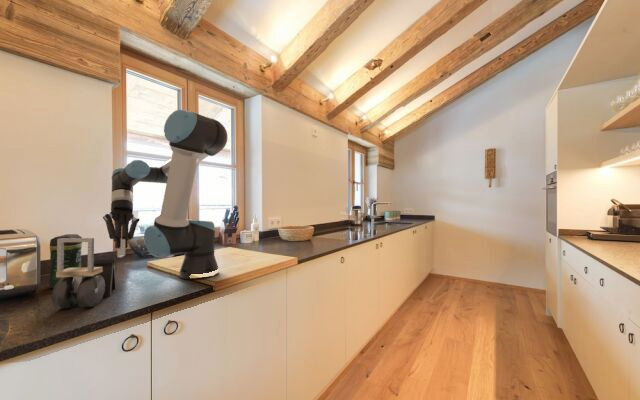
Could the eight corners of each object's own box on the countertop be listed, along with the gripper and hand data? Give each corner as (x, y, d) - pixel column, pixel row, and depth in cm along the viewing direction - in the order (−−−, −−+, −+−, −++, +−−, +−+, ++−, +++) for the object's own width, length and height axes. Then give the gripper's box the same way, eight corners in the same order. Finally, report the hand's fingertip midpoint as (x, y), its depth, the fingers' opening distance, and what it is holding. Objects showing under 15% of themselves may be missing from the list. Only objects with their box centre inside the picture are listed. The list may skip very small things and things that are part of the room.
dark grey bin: (109, 297, 89) (110, 260, 89) (86, 299, 86) (86, 261, 86) (116, 288, 97) (117, 254, 97) (95, 290, 94) (95, 256, 94)
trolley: (105, 300, 86) (105, 235, 86) (86, 311, 77) (87, 239, 77) (73, 301, 84) (74, 235, 84) (51, 313, 76) (51, 239, 76)
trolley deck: (102, 271, 84) (102, 266, 84) (92, 276, 79) (92, 270, 79) (68, 272, 82) (68, 267, 82) (56, 277, 77) (56, 272, 77)
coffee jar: (73, 288, 97) (74, 235, 97) (44, 290, 94) (45, 236, 94) (85, 280, 106) (85, 232, 106) (58, 282, 103) (59, 233, 103)
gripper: (133, 208, 123) (133, 259, 114) (99, 202, 112) (96, 258, 103) (143, 202, 120) (144, 253, 111) (109, 195, 109) (107, 252, 101)
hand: (121, 256), depth 107 cm, fingers closed
